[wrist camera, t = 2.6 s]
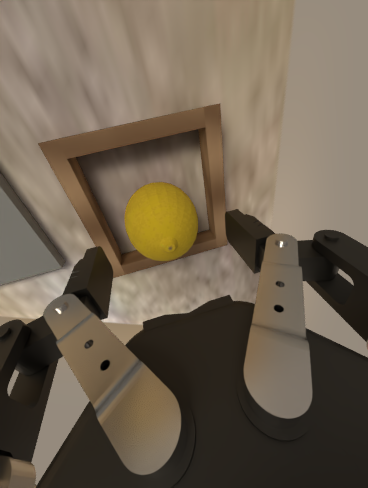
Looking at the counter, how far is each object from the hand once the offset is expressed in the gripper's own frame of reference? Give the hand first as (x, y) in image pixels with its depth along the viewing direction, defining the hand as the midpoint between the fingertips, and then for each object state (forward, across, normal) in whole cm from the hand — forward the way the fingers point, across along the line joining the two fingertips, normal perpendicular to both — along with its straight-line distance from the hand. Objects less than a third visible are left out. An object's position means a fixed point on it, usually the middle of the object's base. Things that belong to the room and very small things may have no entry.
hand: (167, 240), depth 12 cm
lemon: (+7, 0, 0) cm, 7 cm away
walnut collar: (+7, 0, 0) cm, 7 cm away
